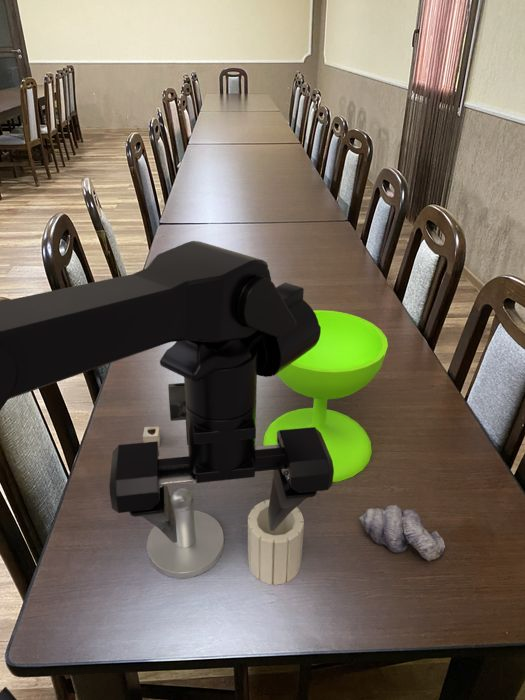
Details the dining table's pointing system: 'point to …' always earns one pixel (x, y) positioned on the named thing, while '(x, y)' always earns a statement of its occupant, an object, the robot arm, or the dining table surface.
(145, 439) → the cream cube
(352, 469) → the wineglass
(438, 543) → the seashell
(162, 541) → the stand
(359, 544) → the dining table surface
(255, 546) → the beige fluted tube
